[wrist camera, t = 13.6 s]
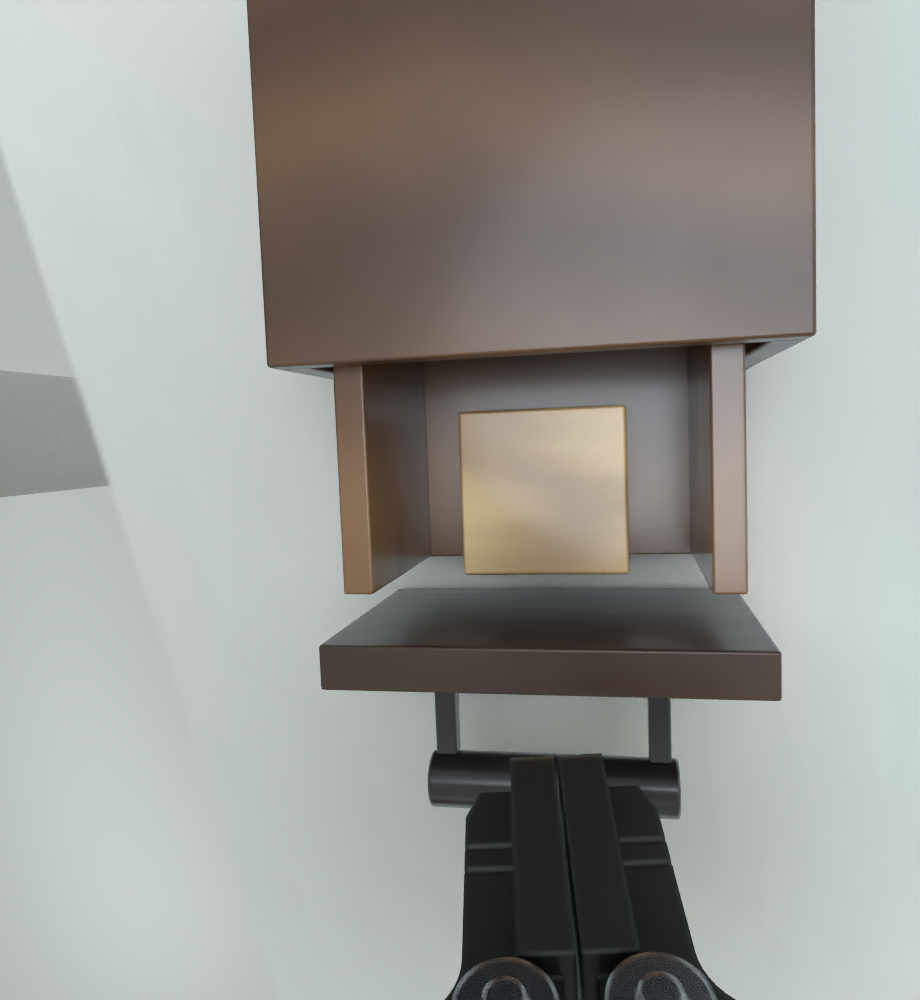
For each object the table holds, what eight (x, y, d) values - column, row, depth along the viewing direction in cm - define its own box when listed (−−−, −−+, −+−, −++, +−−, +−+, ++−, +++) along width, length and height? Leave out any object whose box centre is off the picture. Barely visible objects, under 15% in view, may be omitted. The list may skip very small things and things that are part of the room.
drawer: (738, 752, 27) (783, 879, 19) (405, 739, 29) (328, 849, 22) (731, 201, 26) (777, 104, 18) (382, 232, 28) (292, 158, 20)
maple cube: (484, 414, 27) (489, 551, 27) (457, 411, 22) (463, 575, 23) (625, 408, 26) (628, 550, 26) (625, 404, 21) (629, 574, 22)
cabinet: (749, 368, 27) (816, 335, 17) (380, 387, 29) (266, 368, 20) (743, -100, 26) (813, -406, 16) (361, -38, 28) (229, -273, 19)
